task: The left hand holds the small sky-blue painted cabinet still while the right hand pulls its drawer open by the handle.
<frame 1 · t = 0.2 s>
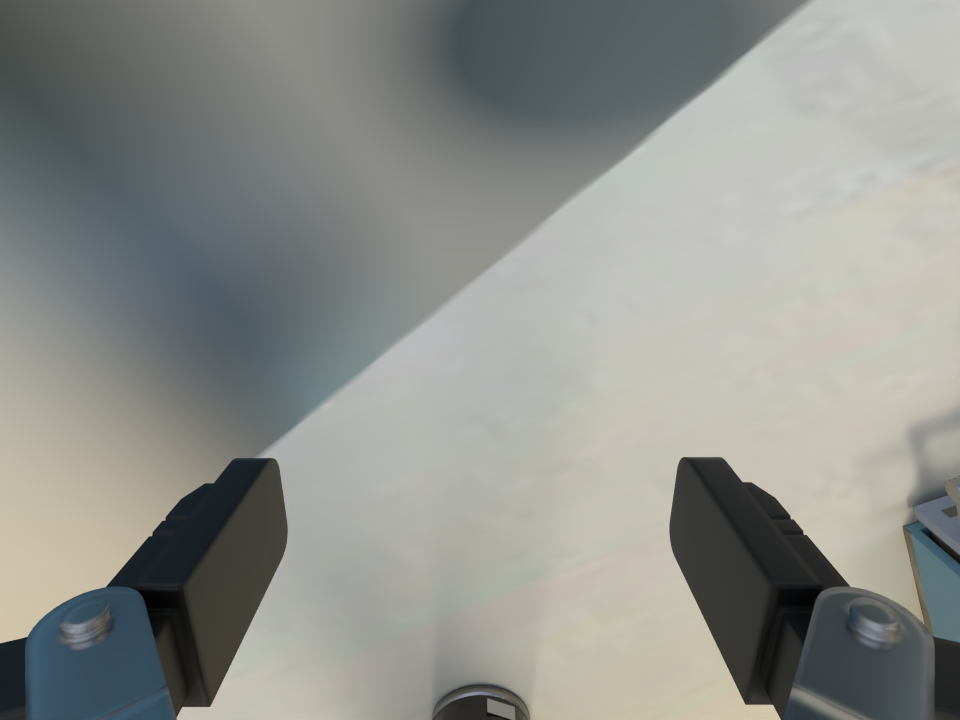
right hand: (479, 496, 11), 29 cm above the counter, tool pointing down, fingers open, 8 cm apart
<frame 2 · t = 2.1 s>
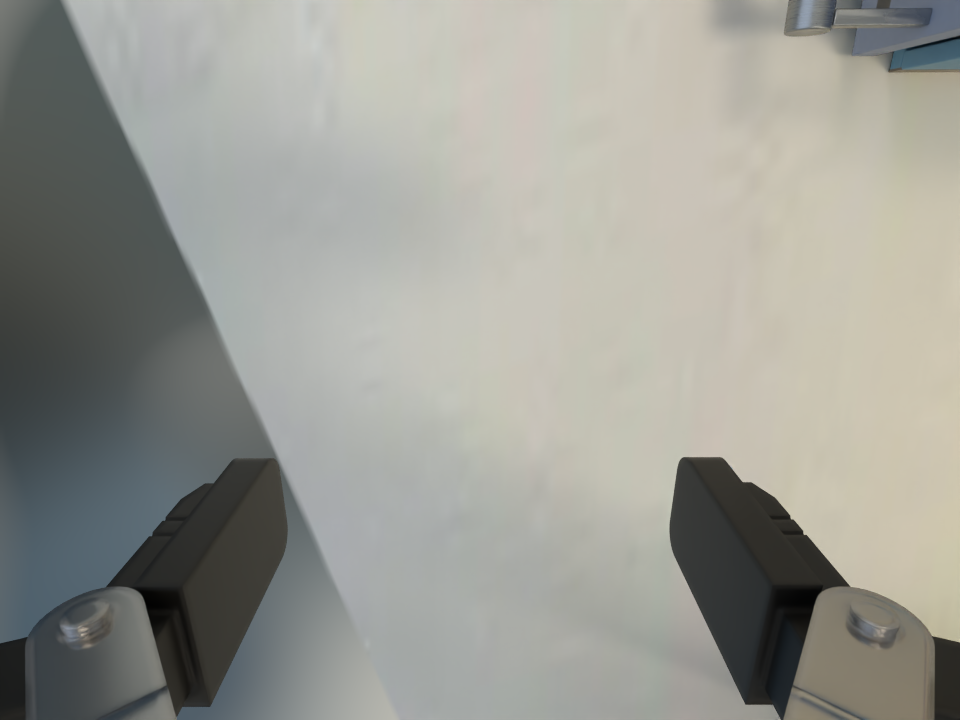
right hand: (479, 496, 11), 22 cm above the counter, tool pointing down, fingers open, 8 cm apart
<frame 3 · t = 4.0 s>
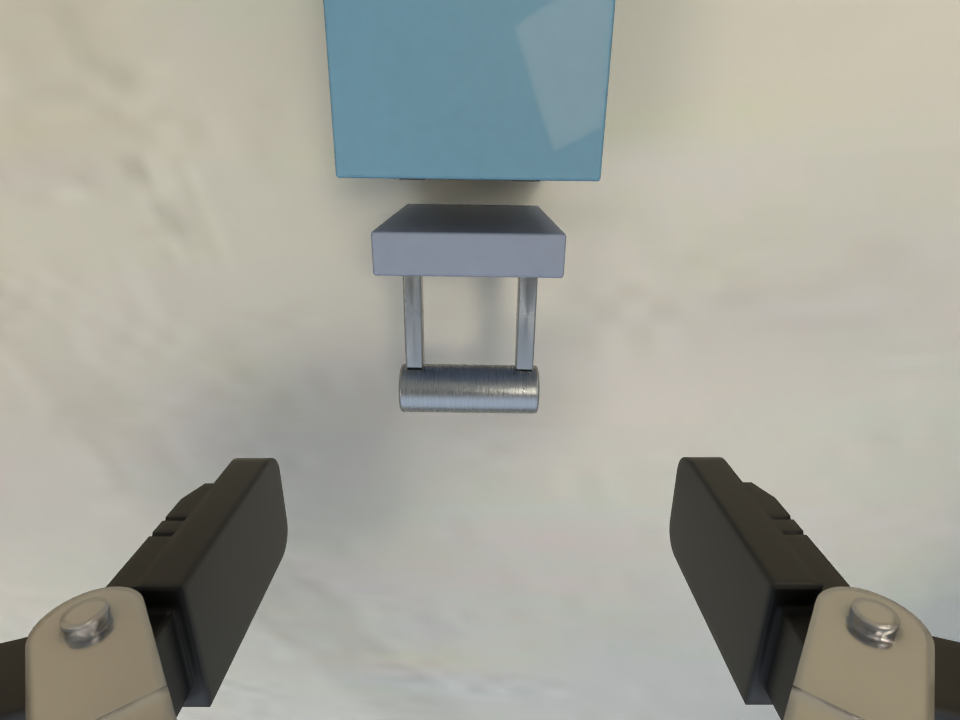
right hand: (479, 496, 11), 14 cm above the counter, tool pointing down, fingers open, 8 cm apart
drawer: (472, 30, 17), point 5 cm above the counter, slide at 1.4 cm
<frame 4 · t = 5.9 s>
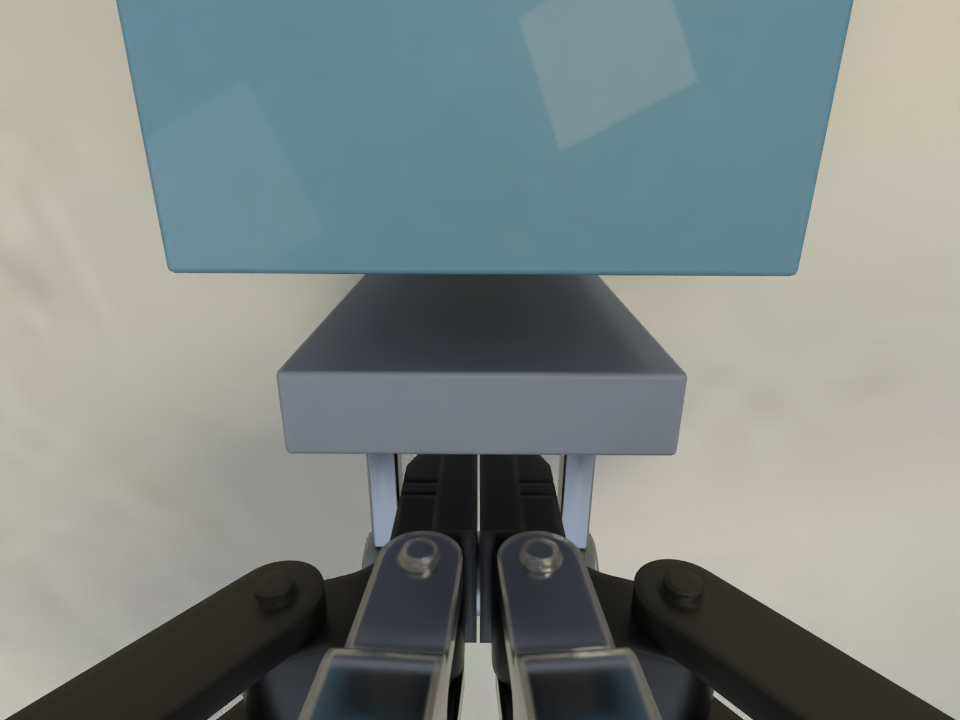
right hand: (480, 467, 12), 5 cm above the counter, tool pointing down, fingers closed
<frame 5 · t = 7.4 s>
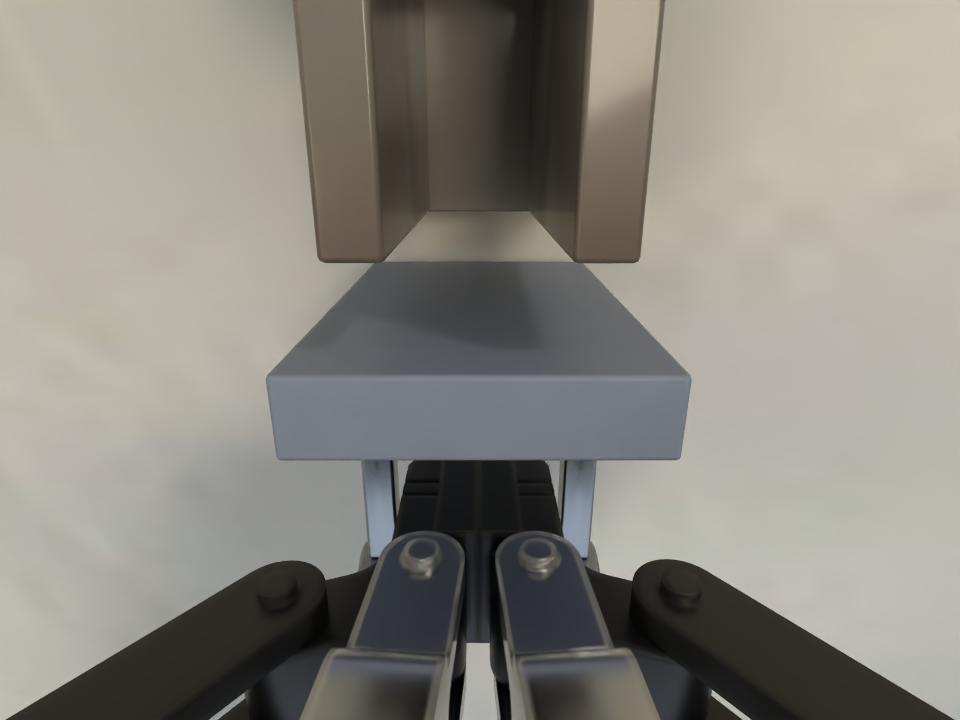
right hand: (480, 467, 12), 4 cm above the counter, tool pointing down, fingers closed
when the left hand's fingers open (6 cm above the counter, at t = 9.1 s): cabinet stays where it is, on the counter.
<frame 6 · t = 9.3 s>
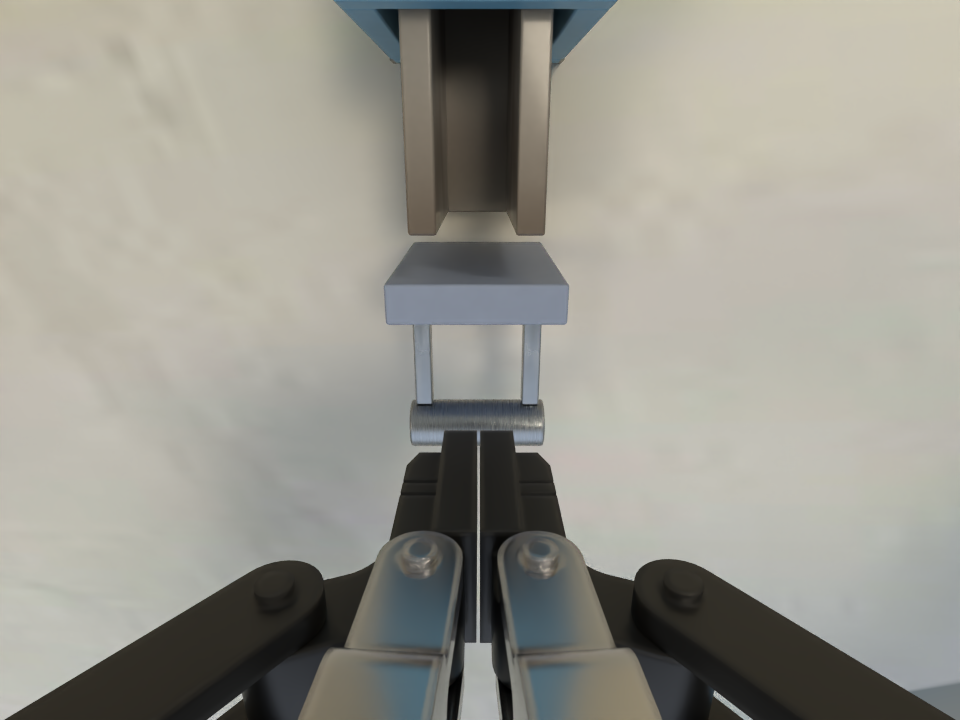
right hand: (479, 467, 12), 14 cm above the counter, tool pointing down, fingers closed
drawer: (476, 87, 18), point 5 cm above the counter, slide at 6.7 cm
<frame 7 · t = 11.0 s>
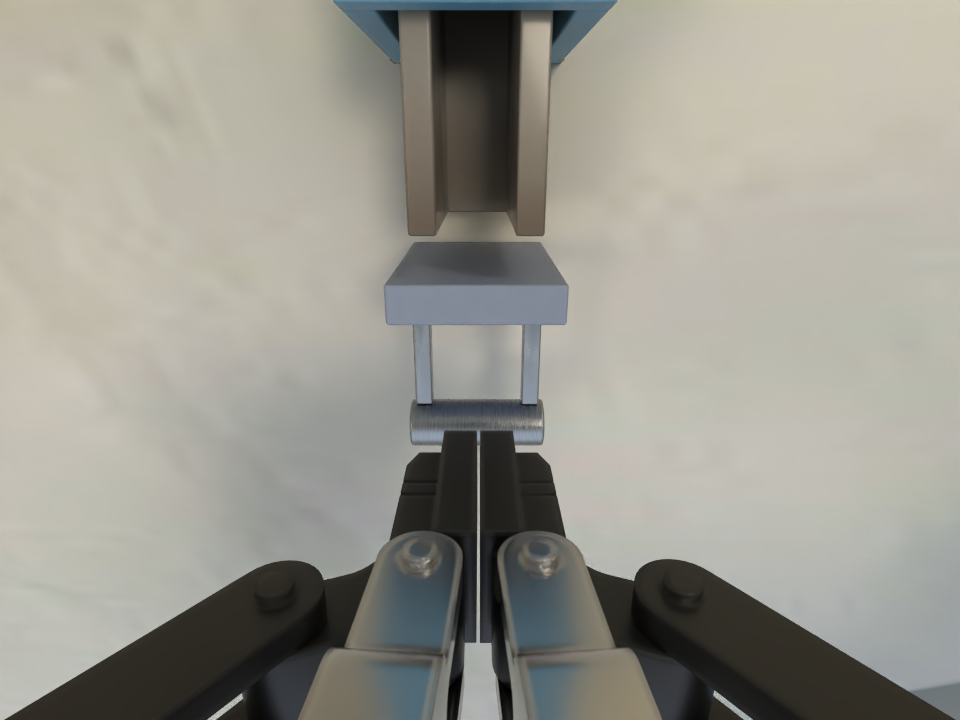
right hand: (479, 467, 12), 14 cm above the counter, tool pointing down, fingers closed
drawer: (476, 87, 18), point 5 cm above the counter, slide at 6.7 cm
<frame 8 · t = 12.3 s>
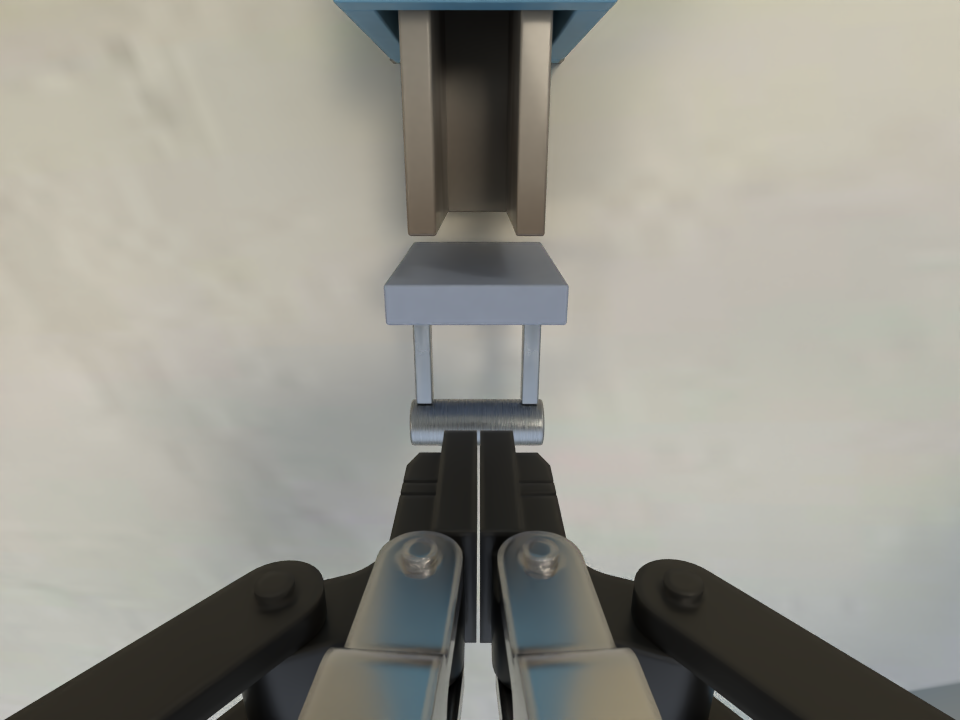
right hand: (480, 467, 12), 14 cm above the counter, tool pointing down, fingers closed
drawer: (476, 87, 18), point 5 cm above the counter, slide at 6.7 cm
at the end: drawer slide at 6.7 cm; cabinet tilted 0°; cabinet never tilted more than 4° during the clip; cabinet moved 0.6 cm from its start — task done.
